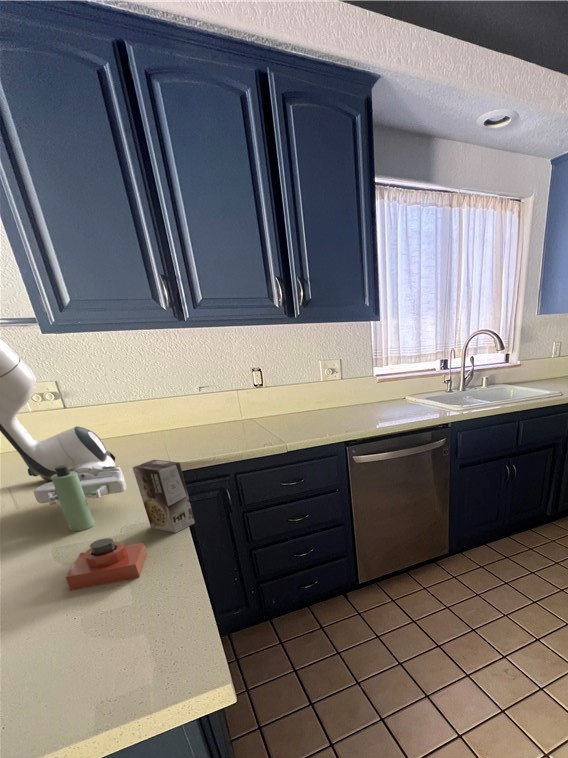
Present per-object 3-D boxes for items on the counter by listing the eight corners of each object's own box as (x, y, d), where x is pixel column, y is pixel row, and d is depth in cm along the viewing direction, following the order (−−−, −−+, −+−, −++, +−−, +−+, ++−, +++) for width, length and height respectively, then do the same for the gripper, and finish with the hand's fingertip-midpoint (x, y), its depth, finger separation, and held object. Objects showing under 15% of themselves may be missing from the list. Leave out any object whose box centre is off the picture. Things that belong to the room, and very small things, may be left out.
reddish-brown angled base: (70, 590, 82) (61, 568, 80) (84, 565, 90) (77, 544, 88) (139, 577, 85) (132, 555, 83) (147, 554, 94) (141, 534, 92)
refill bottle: (67, 532, 106) (44, 471, 99) (74, 524, 110) (52, 465, 104) (91, 529, 107) (70, 468, 101) (97, 520, 112) (76, 462, 105)
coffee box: (196, 522, 108) (181, 461, 101) (175, 533, 103) (158, 470, 96) (170, 517, 112) (154, 458, 105) (149, 528, 106) (131, 466, 100)
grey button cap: (90, 558, 84) (87, 549, 83) (95, 549, 87) (92, 540, 86) (113, 554, 85) (110, 545, 84) (117, 545, 88) (114, 536, 87)
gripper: (41, 475, 114) (20, 492, 102) (126, 465, 120) (115, 480, 108) (49, 497, 117) (29, 516, 105) (132, 486, 123) (122, 503, 111)
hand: (74, 498), depth 107 cm, fingers open, 8 cm apart
